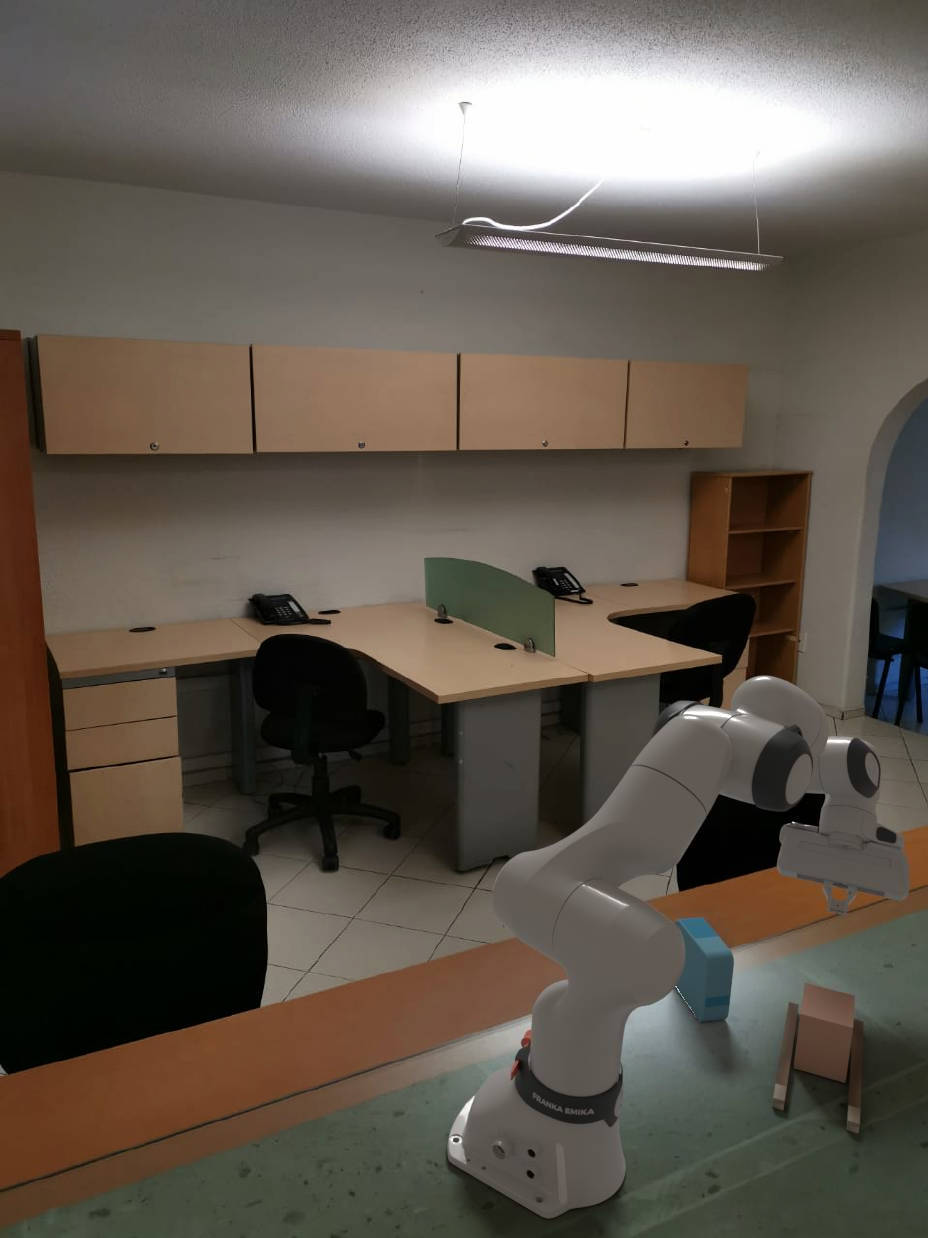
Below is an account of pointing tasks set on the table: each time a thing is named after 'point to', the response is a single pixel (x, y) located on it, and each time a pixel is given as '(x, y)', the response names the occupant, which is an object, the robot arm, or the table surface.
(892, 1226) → the table surface
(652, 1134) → the table surface
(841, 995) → the block
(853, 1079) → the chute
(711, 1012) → the data package
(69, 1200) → the table surface
